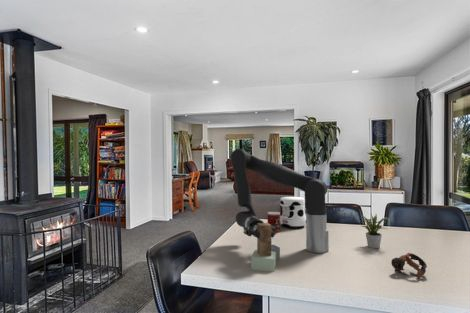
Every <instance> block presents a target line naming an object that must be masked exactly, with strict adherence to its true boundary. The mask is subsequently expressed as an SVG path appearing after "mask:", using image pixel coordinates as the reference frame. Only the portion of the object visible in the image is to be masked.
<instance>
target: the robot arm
mask: <svg viewBox="0 0 470 313" xmlns="http://www.w3.org/2000/svg"><path fill="white" fill-rule="evenodd" d="M230 163H231V165H232V169H233V173H234V179H235V185H236V195H237V204H238V206H239V207H242V208H246V209H247V210H245V211H238V212H237V213H236V215H235V221H236V224H237V225H238V226H239V227H241V228H243V234H244V235H246V236H248V237H255V238H259V232H258V231H257V223H265V222H264V221H263V220H262V219H260V218H259V217H257V214H256V211H255V209H254V206H253V202H252V194H251V193H252V192H251V187H250V184H249V181H248V177H247V173H246V170H248V171H251V172H255V173H257V174H258V175H260V176H262V177H263V178H264V179H266V180H269V181H271V182H273V183H276V184H278V185H283V186H287V187H292V188H295V189H299V190H301V191H303V192H304V199H305V215H306V224H305V226H306V227H305V228H306V229H305V232H306V233H305V236H306V240H305V242H306V243H305V244H306V245H305V246H306V247H305V248H306V251H308V252H310V253H315V254H323V253H326V252H329V242H330V241H329V240H330V239H329V230H328V229H327V207H326V194H327V193H328V186H327V184H326V183H325V182H324V180H322V179H319V178H314V177H311V176H307V175H304V174H302V173H300V172H298V171H295V170H293V169H291V168H289V167H287V166H284V165H282V164H280V163H278V162H273V161H271V160H265V159H260V158H258V157H256V156H254V155H252V154H251V153H249V152H247V151H246V150H244V149H242V148H236V149H234V150H233V151H232V152H231V154H230ZM275 230H276V229H275V227H274V226H273V225H272V226H271V239H272V238H274V237H275V236H276V234H277V233H275Z"/></svg>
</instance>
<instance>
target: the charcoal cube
mask: <svg viewBox="0 0 470 313" xmlns="http://www.w3.org/2000/svg"><path fill="white" fill-rule="evenodd" d="M271 251H274V252H276V261H277V260H281V247H279V246H277V245H276V244H271Z"/></svg>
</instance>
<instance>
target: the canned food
mask: <svg viewBox="0 0 470 313" xmlns="http://www.w3.org/2000/svg"><path fill="white" fill-rule="evenodd" d="M266 214H267V217H266V218H267V223H269V224H270V225H271V226H272V225H273V226H274V227H275V229H276V230H275V233H276V234H277V233H280V232H281V224H280V212H278V211H268V212H267V213H266Z"/></svg>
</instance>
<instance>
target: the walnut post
mask: <svg viewBox="0 0 470 313" xmlns="http://www.w3.org/2000/svg"><path fill="white" fill-rule="evenodd" d="M257 231H258V232H259V238H257V237H256V238H257V240H256V241H257V242H256V243H257V246H256V248H257V253H258V254H259V255H260V256H271V245H272V237H271V225H270V224H269V223H268V222H264V223H257Z"/></svg>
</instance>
